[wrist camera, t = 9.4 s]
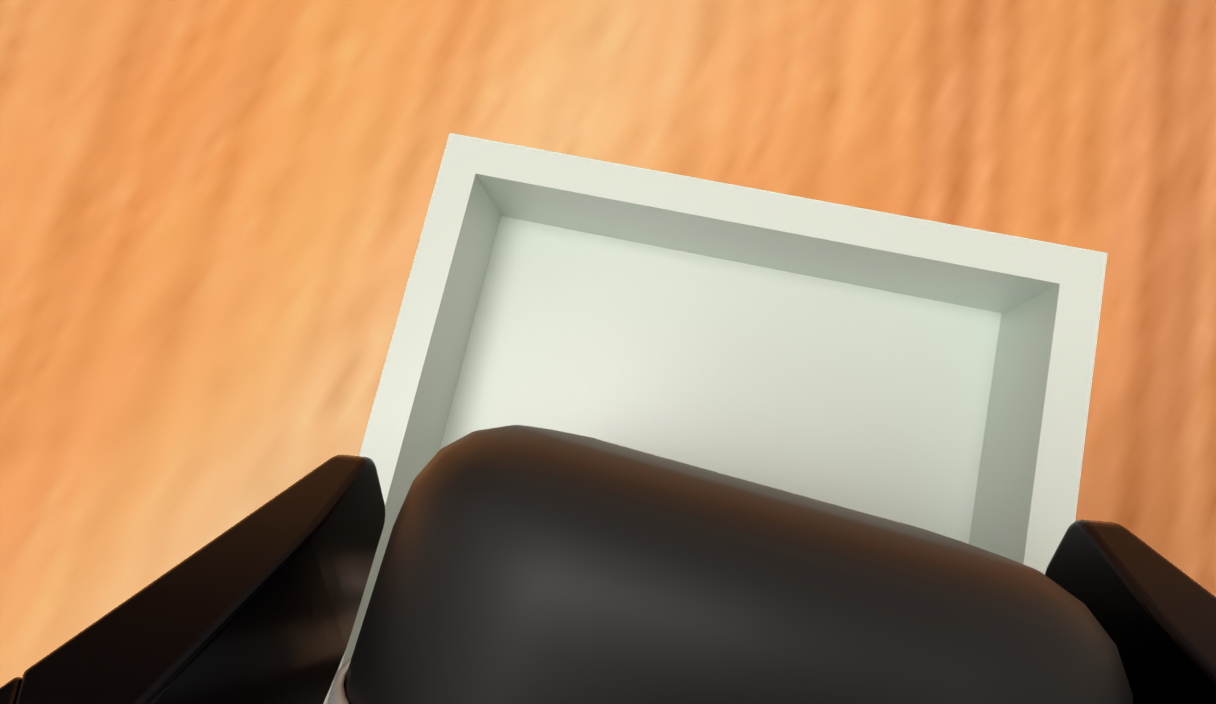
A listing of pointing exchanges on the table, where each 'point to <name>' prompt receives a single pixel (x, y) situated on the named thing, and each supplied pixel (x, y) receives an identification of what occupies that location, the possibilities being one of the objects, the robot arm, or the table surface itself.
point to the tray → (745, 343)
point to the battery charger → (695, 594)
